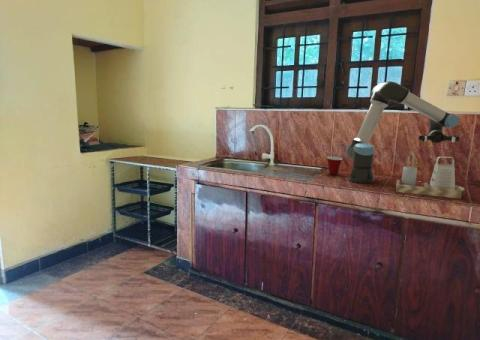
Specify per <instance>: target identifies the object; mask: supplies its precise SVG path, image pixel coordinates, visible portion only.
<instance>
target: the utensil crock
mask: <svg viewBox="0 0 480 340" xmlns="http://www.w3.org/2000/svg"><path fill="white" fill-rule="evenodd" d="M415 157H416V154H415V153H414V154H413V155H412V160H410V158H411V157H410V155H408V156H407V162H406V166H403V167H402V175H401V184H400V185H410V186H416V183H417V176H418V175H417V174H418V167H416V166H415ZM410 161H412V162H411V166H410Z"/></svg>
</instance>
